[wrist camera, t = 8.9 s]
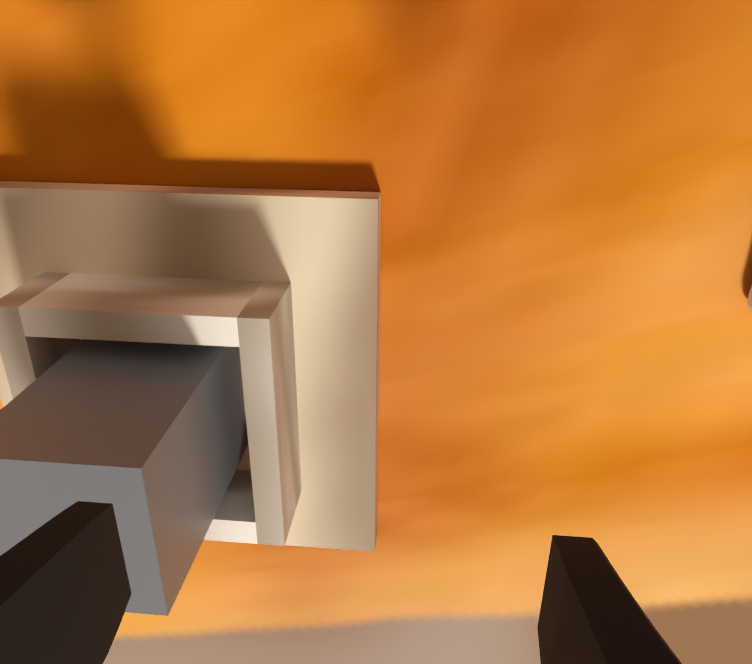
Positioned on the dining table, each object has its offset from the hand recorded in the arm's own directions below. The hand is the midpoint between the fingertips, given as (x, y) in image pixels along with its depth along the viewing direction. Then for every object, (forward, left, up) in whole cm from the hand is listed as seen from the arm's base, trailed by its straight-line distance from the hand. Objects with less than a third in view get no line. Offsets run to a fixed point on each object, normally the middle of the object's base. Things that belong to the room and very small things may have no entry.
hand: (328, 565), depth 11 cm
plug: (+6, +2, -8) cm, 10 cm away
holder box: (+6, +2, -9) cm, 11 cm away
